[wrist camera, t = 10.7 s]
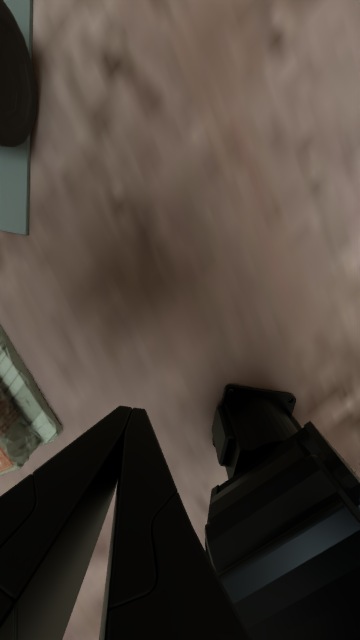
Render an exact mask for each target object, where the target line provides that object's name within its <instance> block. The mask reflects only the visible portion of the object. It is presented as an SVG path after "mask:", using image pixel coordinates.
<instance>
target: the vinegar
mask: <svg viewBox="0 0 360 640" xmlns="http://www.w3.org/2000/svg"><path fill="white" fill-rule="evenodd" d="M36 110H37V91H36V80H35V75H34V70H33V65H32V60H31V57H30V54H29V51H28V48H27V45H26V42H25V39H24V36H23V34H22V32H21V30H20V28H19V26H18V24H17V22H16V20H15V17H14V15H13V14H12V12H11V11H10V9H9V8H8V6H7V5H6V3H5V2H4V0H0V146H3V147H16V146H18V145H20V144H22V143H24V142H25V140H26V139H27V137H28V136H29V135H30V133H31V132H32V129H33V126H34V123H35V119H36Z"/></svg>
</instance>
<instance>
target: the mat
mask: <svg viewBox="0 0 360 640" xmlns="http://www.w3.org/2000/svg"><path fill="white" fill-rule="evenodd" d="M4 2H5V3H6V5H7V6H8V8H9V9H10V11H11V12H12V14H13V15H14V17H15V20H16V22H17V24H18V26H19V28H20V30H21V32H22V34H23V36H24V39H25V42H26V45H27V48H28V51H29V54H30V57H31V60H32V7H33V0H4ZM29 172H30V135H29V136H28V137H27V139H26V140H25V142H24V143H22V144H20V145H18V146H16V147H3V146H0V230H1V231H7V232H13V233H18V234H24V235H28V227H29Z"/></svg>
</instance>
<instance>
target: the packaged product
mask: <svg viewBox="0 0 360 640" xmlns="http://www.w3.org/2000/svg"><path fill="white" fill-rule="evenodd" d="M62 430H63V429H62V427H61V425H60V424H59V422H58V421H57V419H56V417H55V416H54V414H53V413H52V411H51V410H50V408H49V407H48V405H47V403H46V402H45V400H44V398H43V396H42V394H41V393H40V391H39V389H38V387H37V385H36V384H35V382H34V380H33V378H32V377H31V375H30V374H29V372H28V370H27V369H26V367H25V365H24V364H23V362H22V360H21V359H20V357H19V355H18V354H17V352H16V350H15V348H14V347H13V345H12V343H11V342H10V340H9V338H8V337H7V335H6V333H5V332H4V330H3V329H2V327H1V325H0V475H4V474H5V473H7V472H10V471H13V470H17V469H20V468H21V467H22V466H23V465H24V463H25V462H26V461H28V460H29V456H30V455H31V454H32V453H33V452H34V450H35V449H36V448H37V447H38V446H40V445H43V444H46V443H48V442H52V441H53V440H55V439H56V438H57V437H59V436H60V434H61V432H62Z"/></svg>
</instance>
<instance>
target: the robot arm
mask: <svg viewBox="0 0 360 640" xmlns="http://www.w3.org/2000/svg"><path fill="white" fill-rule="evenodd" d="M230 389H233V391H231V392H229V390H230ZM289 398H291V400H289V401H288V399H289ZM295 403H296V398H295V397H294V395H293V394H291V393H285V392H278V391H272V390H265V389H259V388H252V387H245V386H239V385H232V384H229V385H227V386H226V387H225V390H224V394H223V398H222V402H221V405H219V406H218V407H217V410H216V414H215V418H214V422H213V426H212V433H213V439H212V441H213V445H214V446H215V447H216V452H217V457H218V462H219V464H220V465H221V466H225V467H226V471H227V475H228V479H229V480H227V481H226V482H224V483H223V484H222V485H220V486H219V485H217V486H216V487H214V488H213V489H212V491H211V499H210V505H209V513H208V520H207V524H206V525H205V547H206V552H205V550H204V548H203V546H202V544H201V542H200V540H199V538H198V536H197V534H196V532H195V530H194V529H193V526H192V524H191V522H190V519H189V517H188V515H187V512H186V510H185V508H184V505H183V503H182V500H181V498H180V495H179V493H178V492H177V488H176V486H175V483H174V480H173V478H172V475H171V473H170V470H169V468H168V465H167V463H166V460H165V458H164V455H163V453H162V450H161V448H160V445H159V442H158V440H157V437H156V435H155V432H154V430H153V427H152V425H151V422H150V420H149V417H148V415H147V412H146V410H145V409H141V408H133V409H132V408H131V407H127V406H119V407H117V408H116V409H115V410H113V411H112V412H111V413H109V414H108V415H107V416H106V417H104V418H103V419H102V420H100V421H99V422H98V423H96V424H95V425H94V426H92V427H91V428H90V429H89V430H87V431H86V432H85V433H83V434H82V435H81V436H79V437H78V438H77V439H75V440H74V441H73V442H72V443H70V444H69V445H68V446H66V447H65V448H64V449H62V450H61V451H60V452H59V453H57V454H56V455H55V456H53V457H52V458H51V459H49V460H48V461H47V462H45V463H44V464H43V465H42V466H40V467H39V468H38V469H36V470H35V471H34V472H33V474H30V475H28V476H27V477H26V478H24V479H23V480H22V481H20V482H19V483H18V484H17V485H15V486H14V487H12V488H11V489H10V490H8V491H7V492H6V493H4V494H3V495H2V496H0V640H62V639H63V636H64V633H65V630H66V627H67V625H68V622H69V619H70V616H71V613H72V611H73V608H74V605H75V602H76V599H77V596H78V594H79V591H80V588H81V585H82V582H83V579H84V577H85V574H86V571H87V568H88V565H89V562H90V560H91V557H92V554H93V551H94V548H95V545H96V543H97V540H98V537H99V534H100V531H101V529H102V526H103V523H104V520H105V517H106V514H107V512H108V509H109V506H110V503H111V500H112V497H113V495H114V492H115V488H116V485H117V491H116V498H115V507H114V516H113V524H112V533H111V541H110V550H109V558H108V567H107V575H106V584H105V592H104V601H103V609H102V618H101V626H100V635H99V640H360V478H359V477H358V476H357V475H356V473H355V472H354V471H353V470H352V469H351V468H350V466H349V465H348V464H347V463H346V462H345V460H344V459H343V458H342V457H341V456H340V455H339V454H338V452H337V451H336V450H335V449H334V448H333V447H332V445H331V444H330V443H329V442H328V441H327V440H326V439H325V437H324V436H323V435H322V434H321V433H320V432H319V430H318V429H317V428H316V427H315V426H314V425H313V424H312V422H311V421H309V422H308V423H306V424H305V425H304V428H301V426H300V425H299V423H298V422H297V421H296V419H295V418H294V417H293V415H292V412H293V409H294V406H295ZM117 482H118V483H117Z"/></svg>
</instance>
